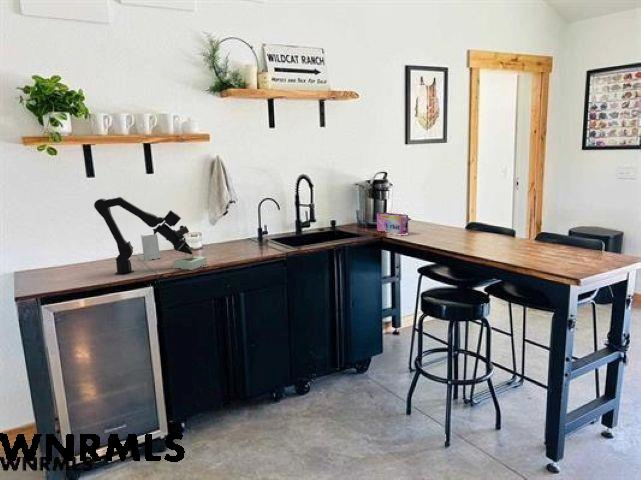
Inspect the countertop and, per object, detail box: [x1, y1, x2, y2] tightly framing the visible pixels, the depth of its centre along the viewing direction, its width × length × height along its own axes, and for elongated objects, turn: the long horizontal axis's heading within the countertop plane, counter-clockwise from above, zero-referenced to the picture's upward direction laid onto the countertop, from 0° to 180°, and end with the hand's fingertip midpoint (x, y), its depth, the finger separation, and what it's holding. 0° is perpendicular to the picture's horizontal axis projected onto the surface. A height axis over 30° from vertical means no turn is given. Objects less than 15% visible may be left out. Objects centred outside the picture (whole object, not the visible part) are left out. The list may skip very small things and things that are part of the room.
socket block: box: [172, 256, 208, 271], centre depth 257 cm, size 12×12×4 cm
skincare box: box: [140, 232, 161, 261], centre depth 279 cm, size 8×6×15 cm
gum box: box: [376, 212, 409, 234], centre depth 330 cm, size 24×8×14 cm, turn 37°
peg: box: [184, 246, 195, 261], centre depth 257 cm, size 4×4×10 cm
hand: (191, 252), depth 257 cm, fingers open, 9 cm apart
